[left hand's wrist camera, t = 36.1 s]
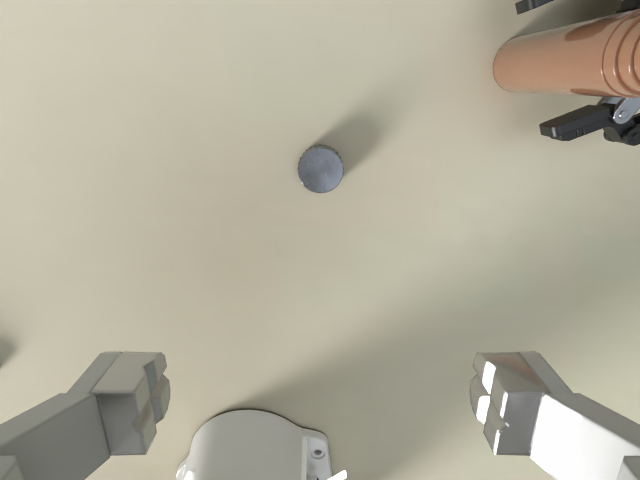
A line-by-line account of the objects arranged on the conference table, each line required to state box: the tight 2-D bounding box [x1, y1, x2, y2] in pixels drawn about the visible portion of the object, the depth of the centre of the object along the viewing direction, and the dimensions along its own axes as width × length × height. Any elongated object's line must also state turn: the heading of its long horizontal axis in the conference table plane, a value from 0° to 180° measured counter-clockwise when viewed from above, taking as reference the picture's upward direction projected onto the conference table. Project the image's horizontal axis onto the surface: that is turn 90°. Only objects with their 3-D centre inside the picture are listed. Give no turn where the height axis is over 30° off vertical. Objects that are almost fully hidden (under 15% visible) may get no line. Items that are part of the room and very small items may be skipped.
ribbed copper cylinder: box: [493, 8, 640, 98], centre depth 24 cm, size 4×4×20 cm
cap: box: [298, 145, 344, 193], centre depth 35 cm, size 4×4×2 cm
